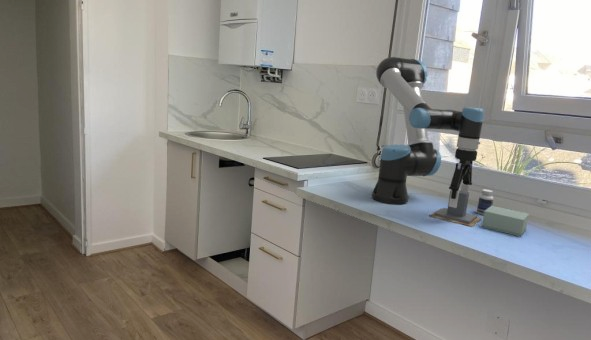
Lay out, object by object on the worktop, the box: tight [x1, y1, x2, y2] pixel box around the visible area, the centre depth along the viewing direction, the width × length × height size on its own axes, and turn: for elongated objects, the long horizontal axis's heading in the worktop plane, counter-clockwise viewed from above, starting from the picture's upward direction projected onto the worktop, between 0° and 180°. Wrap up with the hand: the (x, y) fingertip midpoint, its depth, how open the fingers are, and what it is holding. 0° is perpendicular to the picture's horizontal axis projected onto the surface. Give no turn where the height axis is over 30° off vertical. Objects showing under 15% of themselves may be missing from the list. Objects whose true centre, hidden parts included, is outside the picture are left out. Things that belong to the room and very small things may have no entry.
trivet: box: [429, 208, 483, 228], centre depth 168 cm, size 16×14×1 cm
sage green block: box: [480, 205, 529, 237], centre depth 160 cm, size 13×11×6 cm
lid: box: [434, 189, 478, 224], centre depth 167 cm, size 13×11×10 cm
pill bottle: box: [476, 188, 494, 216], centre depth 177 cm, size 5×5×10 cm
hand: (457, 203), depth 167 cm, fingers open, 13 cm apart
